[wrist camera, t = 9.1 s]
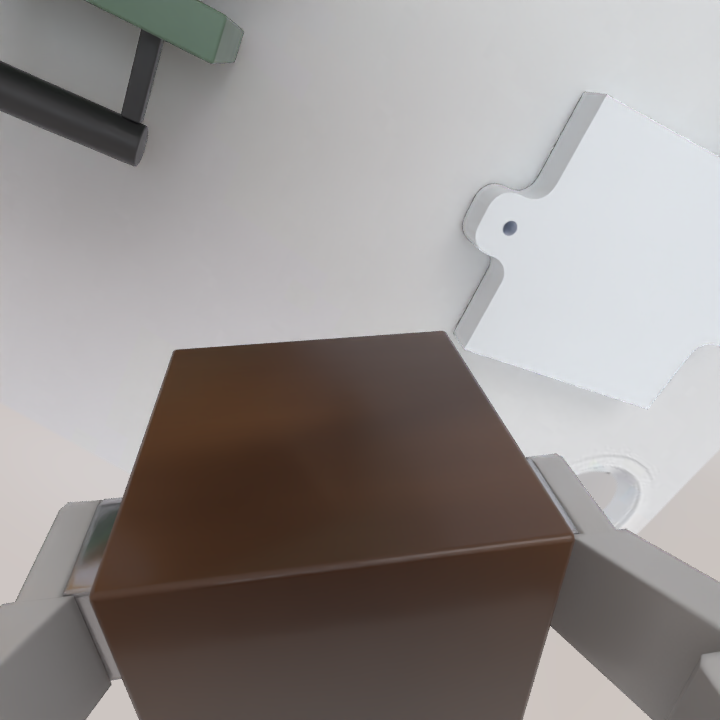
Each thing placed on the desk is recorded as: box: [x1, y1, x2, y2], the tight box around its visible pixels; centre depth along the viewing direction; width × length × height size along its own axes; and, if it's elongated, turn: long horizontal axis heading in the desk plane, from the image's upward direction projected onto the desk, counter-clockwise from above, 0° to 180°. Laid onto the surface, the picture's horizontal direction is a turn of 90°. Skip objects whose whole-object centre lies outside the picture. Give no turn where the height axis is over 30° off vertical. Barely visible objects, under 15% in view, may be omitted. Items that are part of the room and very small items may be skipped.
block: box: [89, 331, 575, 720], centre depth 8 cm, size 4×4×4 cm
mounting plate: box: [454, 92, 720, 410], centre depth 27 cm, size 18×13×2 cm
